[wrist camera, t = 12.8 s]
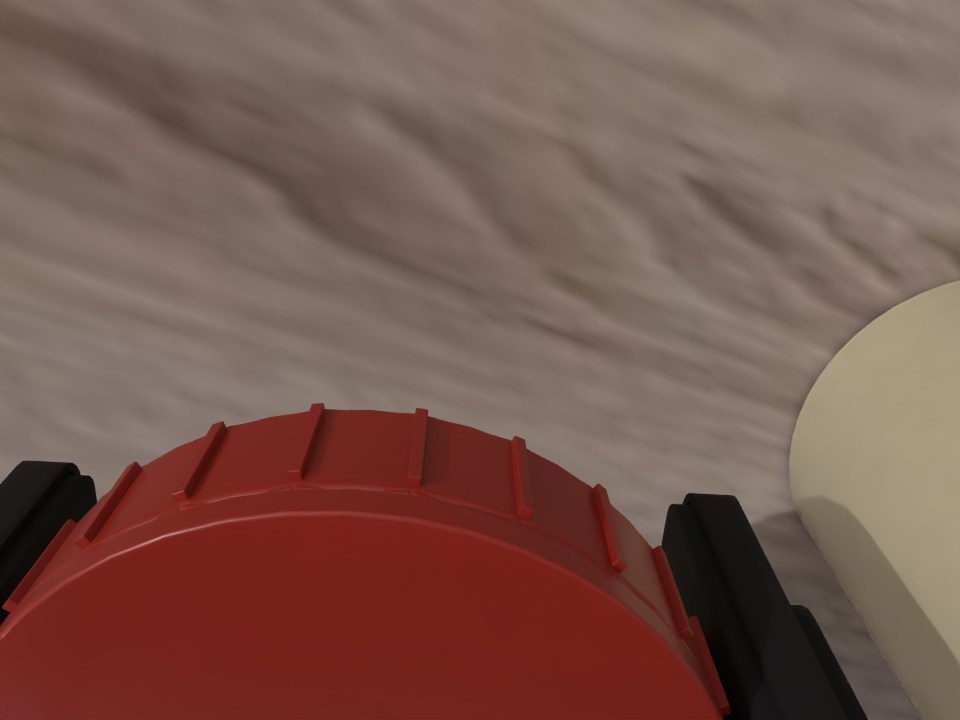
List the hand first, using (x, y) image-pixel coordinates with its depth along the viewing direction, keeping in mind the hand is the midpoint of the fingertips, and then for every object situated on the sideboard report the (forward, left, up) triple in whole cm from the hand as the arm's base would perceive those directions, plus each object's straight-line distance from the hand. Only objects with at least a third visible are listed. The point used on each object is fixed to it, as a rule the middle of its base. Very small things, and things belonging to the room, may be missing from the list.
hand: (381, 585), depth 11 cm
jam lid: (0, 0, +3) cm, 3 cm away
